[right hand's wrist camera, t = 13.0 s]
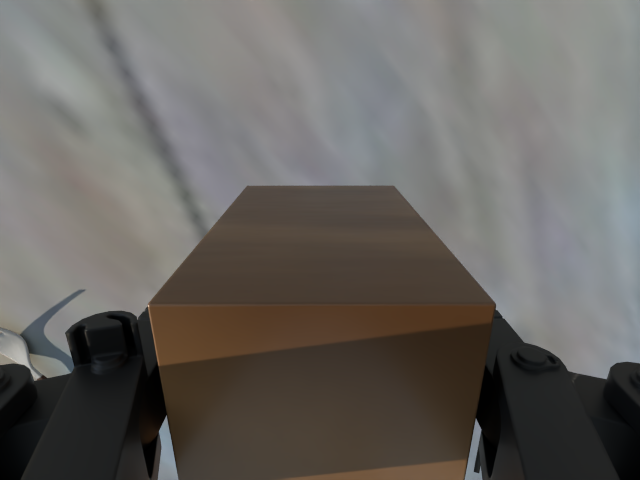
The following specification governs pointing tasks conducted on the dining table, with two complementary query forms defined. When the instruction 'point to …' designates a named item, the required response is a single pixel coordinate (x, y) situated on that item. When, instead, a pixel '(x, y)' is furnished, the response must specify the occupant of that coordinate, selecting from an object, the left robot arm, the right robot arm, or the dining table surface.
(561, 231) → the dining table surface
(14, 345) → the fork
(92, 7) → the dining table surface
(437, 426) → the bar
